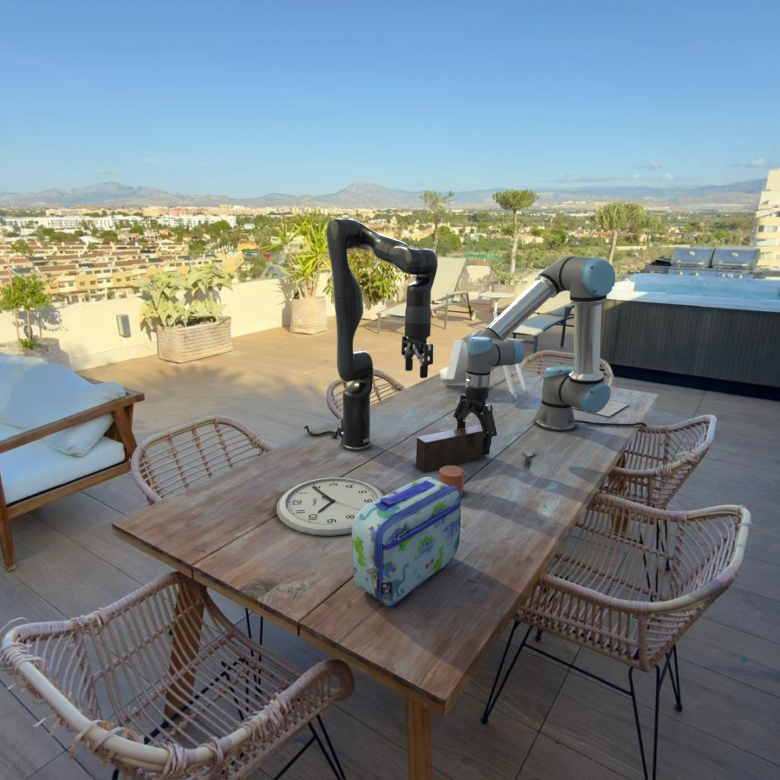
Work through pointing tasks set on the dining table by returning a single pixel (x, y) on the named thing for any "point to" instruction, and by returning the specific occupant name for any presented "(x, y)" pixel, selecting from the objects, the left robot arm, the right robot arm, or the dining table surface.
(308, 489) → the wall clock
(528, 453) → the fork
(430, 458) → the walnut box
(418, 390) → the dining table surface
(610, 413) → the invitation card
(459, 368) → the white plastic object
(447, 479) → the orange clay cylinder
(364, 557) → the lunch box
